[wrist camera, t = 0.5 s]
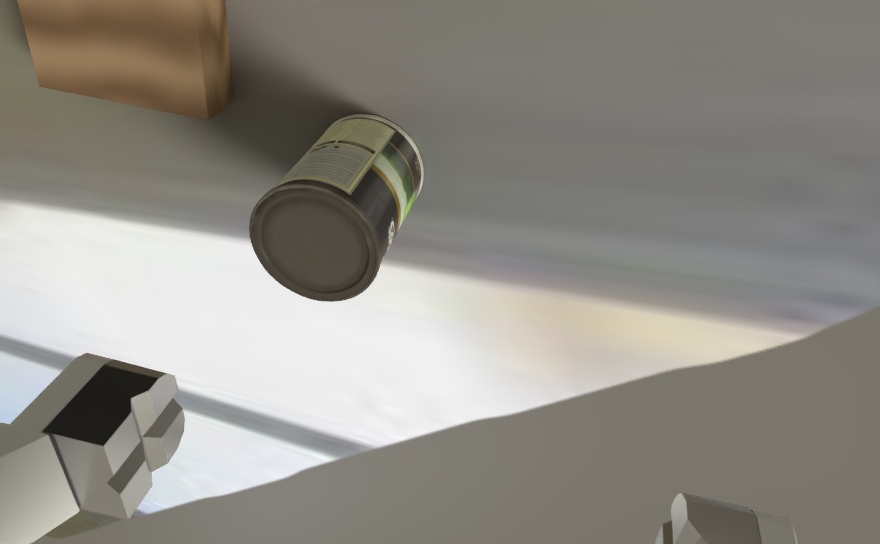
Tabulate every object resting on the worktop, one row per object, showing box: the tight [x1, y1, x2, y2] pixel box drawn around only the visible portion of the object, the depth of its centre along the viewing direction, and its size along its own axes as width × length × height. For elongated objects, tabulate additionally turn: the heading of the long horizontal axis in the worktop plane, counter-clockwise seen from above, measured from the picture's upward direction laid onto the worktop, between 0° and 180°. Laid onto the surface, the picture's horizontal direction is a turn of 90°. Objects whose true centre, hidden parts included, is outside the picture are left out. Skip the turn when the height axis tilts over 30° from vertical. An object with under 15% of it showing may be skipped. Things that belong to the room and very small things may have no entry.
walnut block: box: [17, 0, 234, 120], centre depth 55 cm, size 14×16×5 cm
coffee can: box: [249, 114, 424, 302], centre depth 55 cm, size 10×10×14 cm
